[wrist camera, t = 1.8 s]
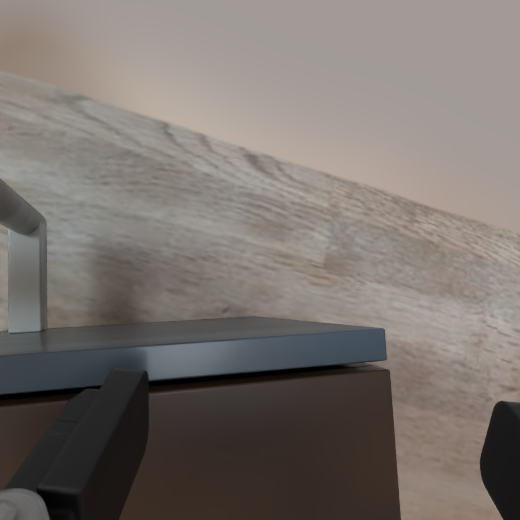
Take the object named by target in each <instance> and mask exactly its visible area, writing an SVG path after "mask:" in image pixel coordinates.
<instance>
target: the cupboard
mask: <svg viewBox="0 0 520 520" xmlns="http://www.w3.org/2000/svg"><path fill="white" fill-rule="evenodd" d="M87 388H90V389H100V388H101V386H94V387H83V388H72V389H60V390H49V391H38V392H27V393H16V394H4V395H0V490H3V489H4V488H5V487H6V485H7V484H8V482H9V481H10V480H11V478H12V477H13V476H14V474H15V473H16V472H17V470H18V469H19V467H20V466H21V465H22V463H23V462H24V461H25V459H26V458H27V456H28V455H29V454H30V452H31V451H32V450H33V448H34V447H35V445H36V444H37V443H38V441H39V440H40V439H41V437H42V436H43V435H45V433H46V430H47V429H48V428H49V426H50V425H51V424H52V422H53V421H55V420H56V417H57V415H58V414H59V413H60V411H61V410H62V409H63V407H64V406H65V404H66V403H67V402H68V401H69V400H70V399H72V398H73V397H75V396H76V395H78V394H79V393H81V392H82V391H84V390H85V389H87ZM119 520H401V515H400V502H399V488H398V475H397V461H396V448H395V434H394V421H393V407H392V394H391V380H390V371H389V370H388V369H384V368H380V367H377V366H373V365H369V364H366V363H352V364H340V365H329V366H318V367H307V368H296V369H284V370H273V371H262V372H251V373H240V374H228V375H217V376H206V377H195V378H184V379H172V380H161V381H150V382H149V432H148V440H147V445H146V450H145V453H144V456H143V459H142V462H141V464H140V467H139V469H138V472H137V474H136V477H135V479H134V482H133V485H132V487H131V490H130V492H129V495H128V497H127V500H126V503H125V505H124V508H123V510H122V513H121V515H120V518H119Z"/></svg>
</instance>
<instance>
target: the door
mask: <svg viewBox="0 0 520 520" xmlns="http://www.w3.org/2000/svg"><path fill="white" fill-rule="evenodd" d="M0 224H1V225H3V226H5V227H7V228H8V331H0V395H4V394H16V393H27V392H38V391H49V390H60V389H72V388H83V387H94V386H102V385H103V383H104V382H105V380H106V379H107V377H108V375H109V374H110V372H111V371H112V370H113V369H114V368H120V369H132V370H144V371H147V372H148V377H149V382H150V381H161V380H172V379H184V378H195V377H206V376H217V375H228V374H240V373H251V372H262V371H273V370H284V369H296V368H307V367H318V366H329V365H340V364H352V363H363V362H374V361H385V360H387V355H386V341H385V330H384V329H383V328H374V327H363V326H352V325H342V324H331V323H320V322H310V321H299V320H288V319H277V318H267V317H256V316H253V317H236V318H219V319H202V320H185V321H168V322H151V323H134V324H117V325H100V326H83V327H66V328H49V329H47V235H46V225H47V224H46V220H45V218H44V216H43V215H42V214H40V213H39V212H38V211H37V210H36V209H35V208H34V207H32V206H31V205H30V204H29V203H28V202H27V201H25V200H24V199H23V198H22V197H21V196H20V195H19V194H17V193H16V192H15V191H14V190H13V189H12V188H10V187H9V186H8V185H7V184H6V183H5V182H4V181H2V180H1V179H0Z"/></svg>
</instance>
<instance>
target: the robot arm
mask: <svg viewBox="0 0 520 520" xmlns="http://www.w3.org/2000/svg"><path fill="white" fill-rule="evenodd" d="M148 432H149V377H148V372H147V371H144V370H132V369H120V368H114V369H113V370H112V371H111V372H110V374H109V375H108V377H107V379H106V380H105V382H104V383H103V385H102V386H101V388H100V389H90V388H87V389H85V390H84V391H82V392H81V393H79V394H78V395H76V396H75V397H73V398H72V399H70V400H69V401H68V402H67V403H66V404H65V406H64V407H63V409H62V410H61V411H60V413H59V414H58V415H57V417H56V420H55V421H53V422H52V424H51V425H50V426H49V428H48V429H47V430H46V433H45V435H43V436H42V437H41V439H40V440H39V441H38V443H37V444H36V445H35V447H34V448H33V450H32V451H31V452H30V454H29V455H28V456H27V458H26V459H25V461H24V462H23V463H22V465H21V466H20V467H19V469H18V470H17V472H16V473H15V474H14V476H13V477H12V478H11V480H10V481H9V482H8V484H7V485H6V487H5V488H4V489H3V490H0V520H119V518H120V515H121V513H122V510H123V508H124V505H125V503H126V500H127V497H128V495H129V492H130V490H131V487H132V485H133V482H134V479H135V477H136V474H137V472H138V469H139V467H140V464H141V462H142V459H143V456H144V453H145V450H146V445H147V440H148ZM480 471H481V477H482V480H483V483H484V485H485V488H486V489H487V491H488V493H489V495H490V497H491V498H492V500H493V502H494V504H495V505H496V507H497V509H498V511H499V513H500V514H501V516H502V518H503V520H520V403H518V402H506V401H500V402H498V403H497V404H496V405H495V407H494V409H493V412H492V416H491V420H490V423H489V427H488V431H487V435H486V438H485V442H484V446H483V449H482V453H481V457H480Z"/></svg>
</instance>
